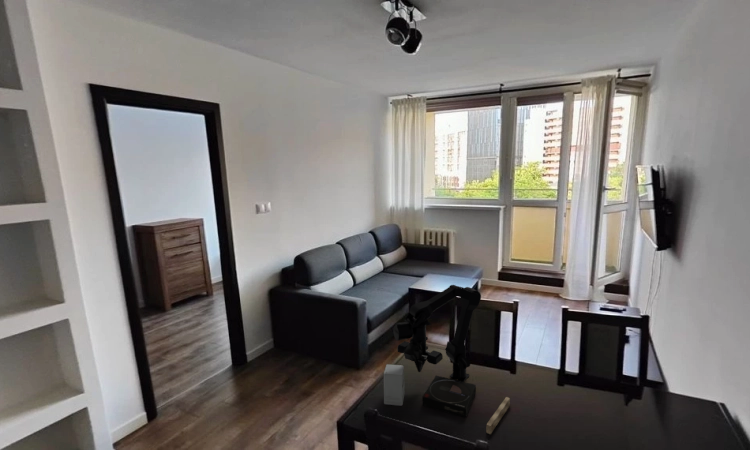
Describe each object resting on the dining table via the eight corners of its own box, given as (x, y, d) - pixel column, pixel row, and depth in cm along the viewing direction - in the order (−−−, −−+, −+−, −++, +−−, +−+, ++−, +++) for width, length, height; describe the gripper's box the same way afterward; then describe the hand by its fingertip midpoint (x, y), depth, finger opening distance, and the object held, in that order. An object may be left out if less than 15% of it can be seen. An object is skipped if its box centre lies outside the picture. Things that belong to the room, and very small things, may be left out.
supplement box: (402, 406, 133) (402, 375, 132) (383, 404, 135) (382, 373, 133) (405, 394, 140) (404, 365, 139) (386, 393, 142) (386, 363, 140)
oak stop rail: (506, 404, 133) (506, 396, 132) (509, 405, 132) (509, 398, 131) (486, 432, 118) (486, 424, 118) (490, 434, 117) (490, 426, 117)
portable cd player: (475, 393, 141) (476, 384, 140) (465, 419, 126) (465, 408, 125) (436, 383, 149) (436, 374, 148) (422, 406, 134) (422, 396, 133)
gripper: (388, 337, 143) (389, 372, 145) (428, 349, 131) (429, 388, 133) (404, 327, 152) (405, 361, 154) (443, 338, 140) (443, 375, 142)
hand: (419, 371), depth 145 cm, fingers closed
